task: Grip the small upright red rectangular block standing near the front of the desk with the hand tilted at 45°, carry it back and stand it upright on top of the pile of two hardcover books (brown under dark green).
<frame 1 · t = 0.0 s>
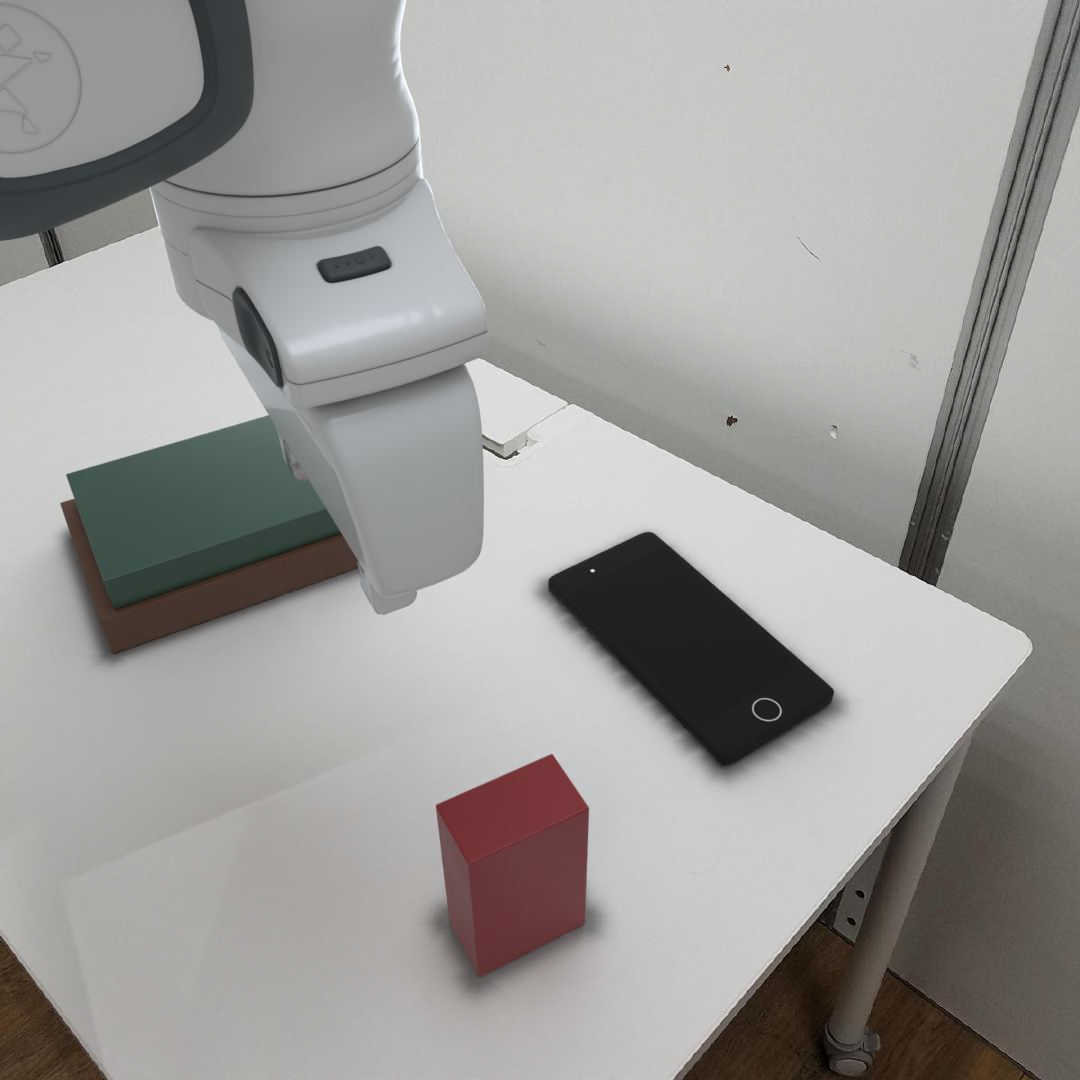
hand: (346, 529, 47), 21 cm above the table, tool pointing down, fingers open, 8 cm apart
upright red rectangular block: (517, 922, 56), on the table
book pile: (222, 548, 78), on the table
cell phone: (682, 644, 71), on the table
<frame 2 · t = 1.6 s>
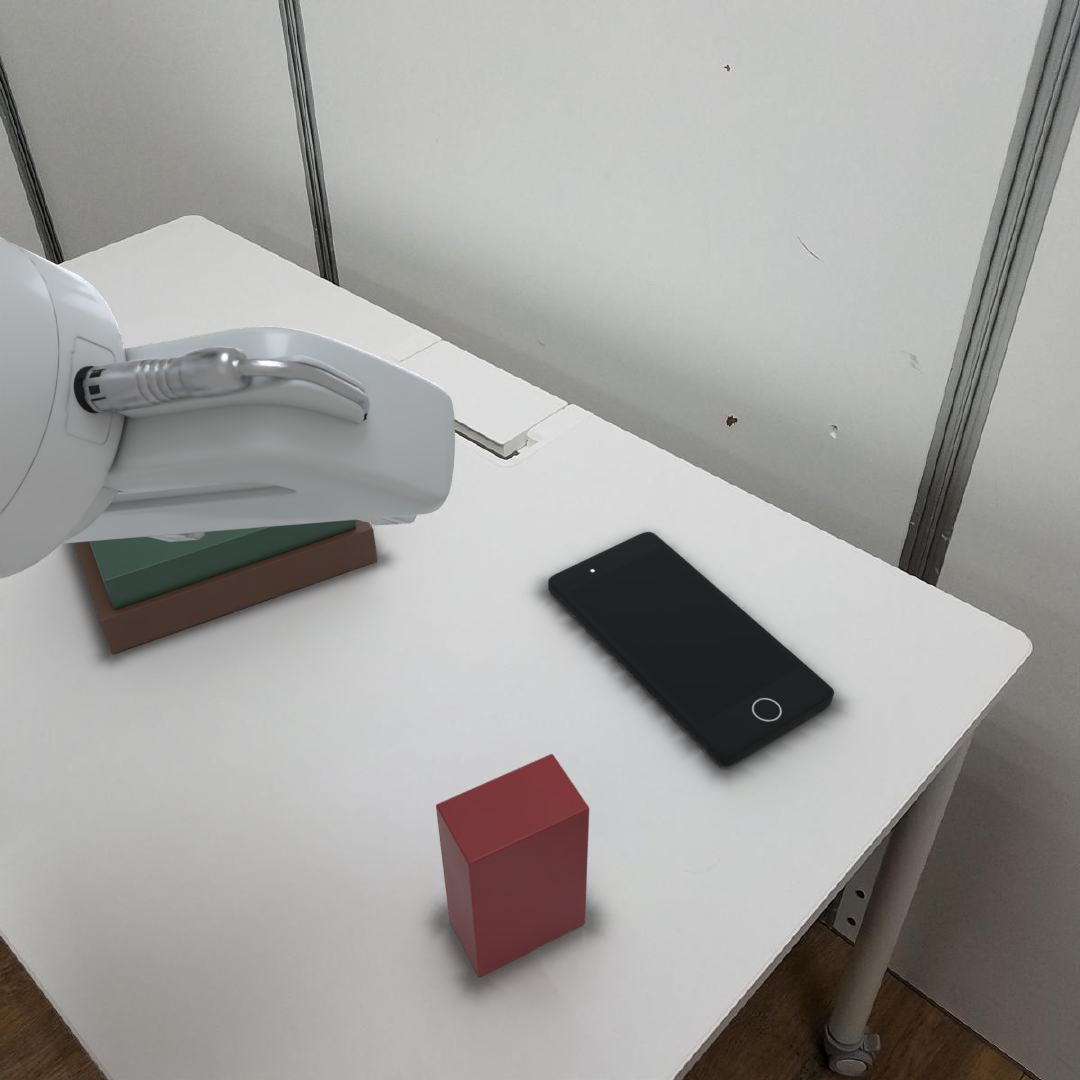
hand: (291, 511, 41), 26 cm above the table, tool tilted 45°, fingers open, 8 cm apart
nothing on the table moved.
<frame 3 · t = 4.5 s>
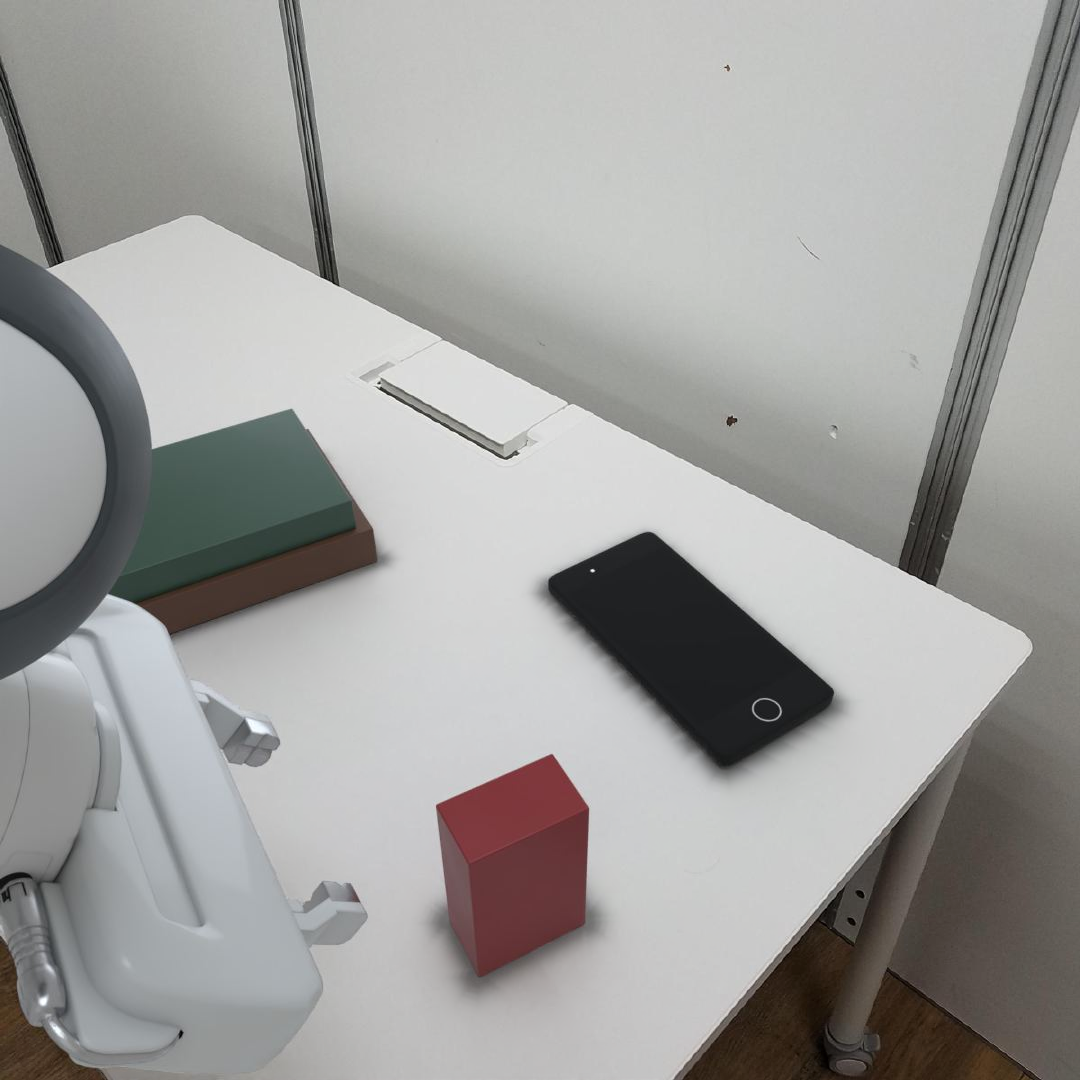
hand: (307, 822, 46), 13 cm above the table, tool tilted 45°, fingers open, 8 cm apart
nothing on the table moved.
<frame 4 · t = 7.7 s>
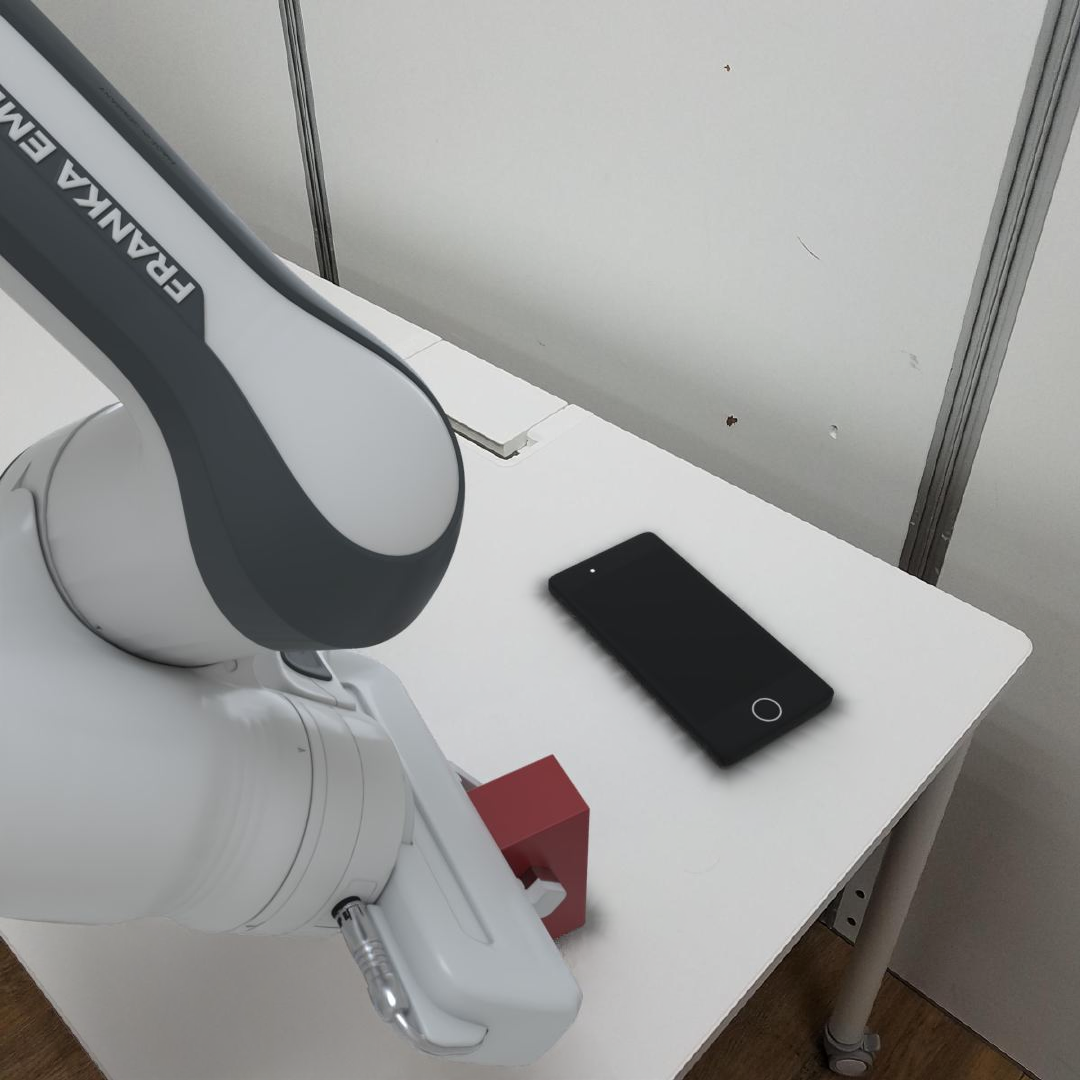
hand: (525, 852, 53), 6 cm above the table, tool tilted 45°, fingers closed on upright red rectangular block, 3 cm apart
upright red rectangular block: (517, 922, 56), on the table, touching gripper
everything else where it was.
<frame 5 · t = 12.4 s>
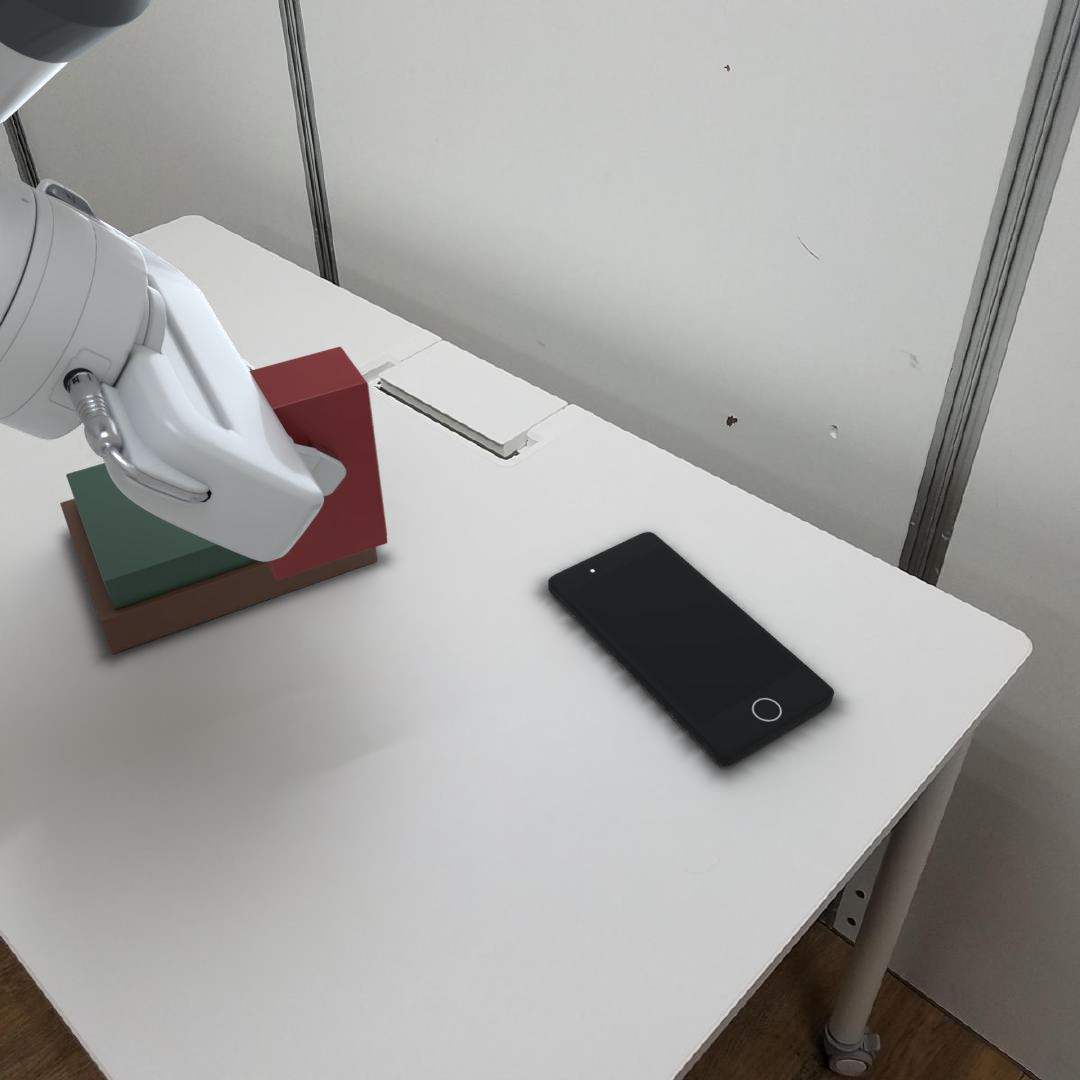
hand: (316, 448, 54), 19 cm above the table, tool tilted 45°, fingers closed on upright red rectangular block, 3 cm apart
upright red rectangular block: (321, 541, 58), point 14 cm above the table, touching gripper
everything else where it was.
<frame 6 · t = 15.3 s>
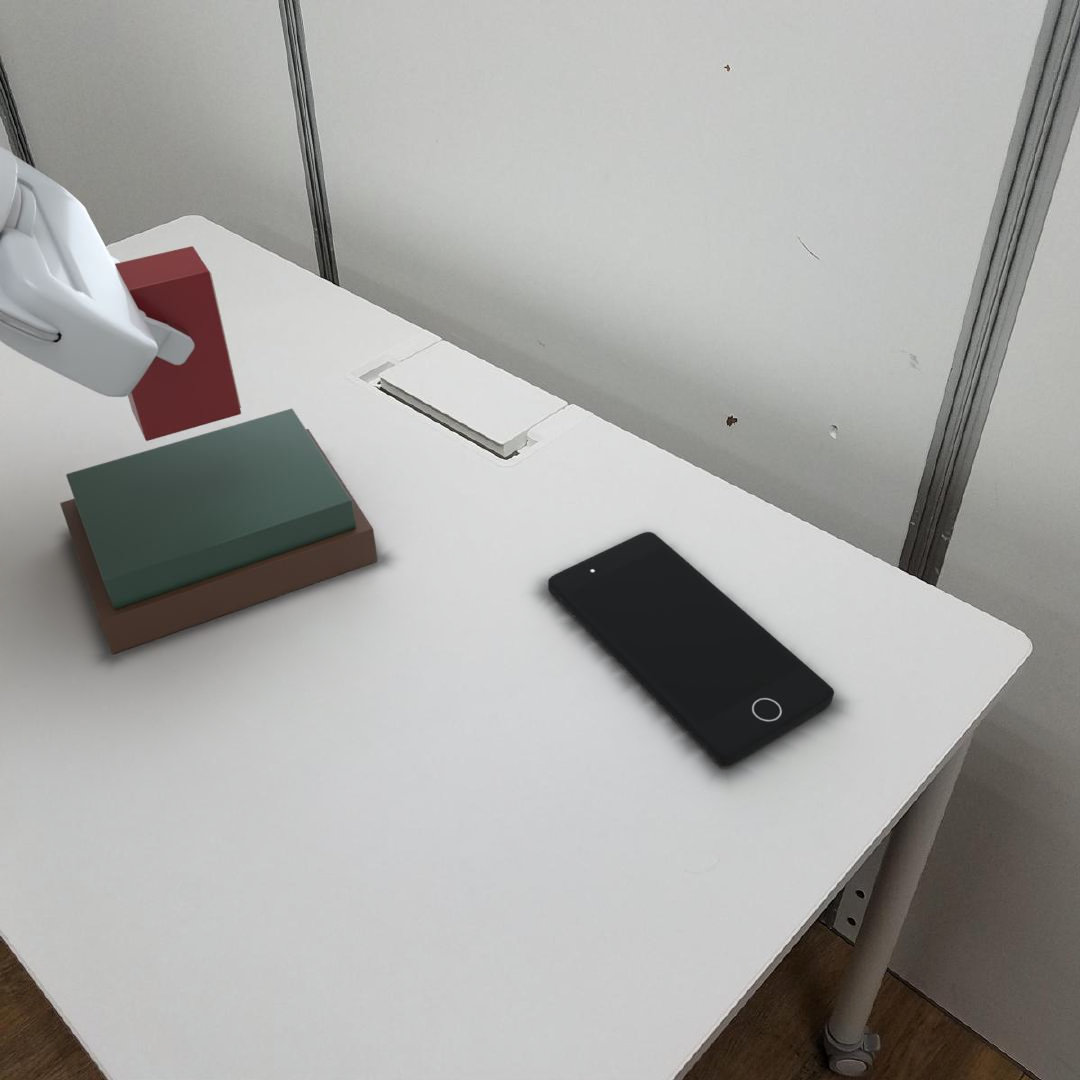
hand: (175, 330, 67), 17 cm above the table, tool tilted 45°, fingers closed on upright red rectangular block, 3 cm apart
upright red rectangular block: (187, 413, 70), point 11 cm above the table, touching gripper
everything else where it was.
when the fingers open (11 cm above the table, at t = 17.3 s): upright red rectangular block stays where it is, resting on book pile.
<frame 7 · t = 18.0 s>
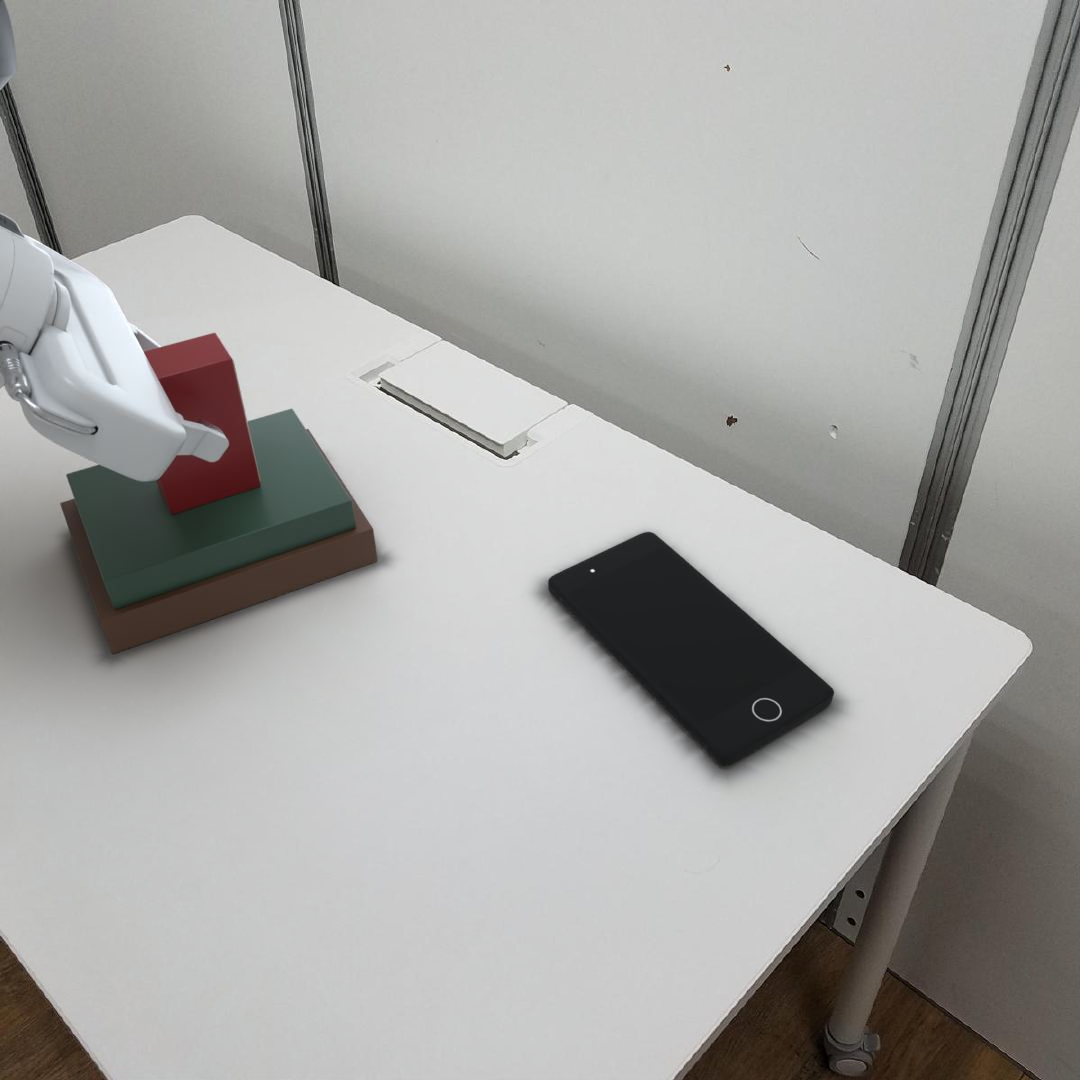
hand: (198, 408, 70), 12 cm above the table, tool tilted 45°, fingers open, 8 cm apart
upright red rectangular block: (209, 486, 74), point 5 cm above the table, touching book pile
everything else where it was.
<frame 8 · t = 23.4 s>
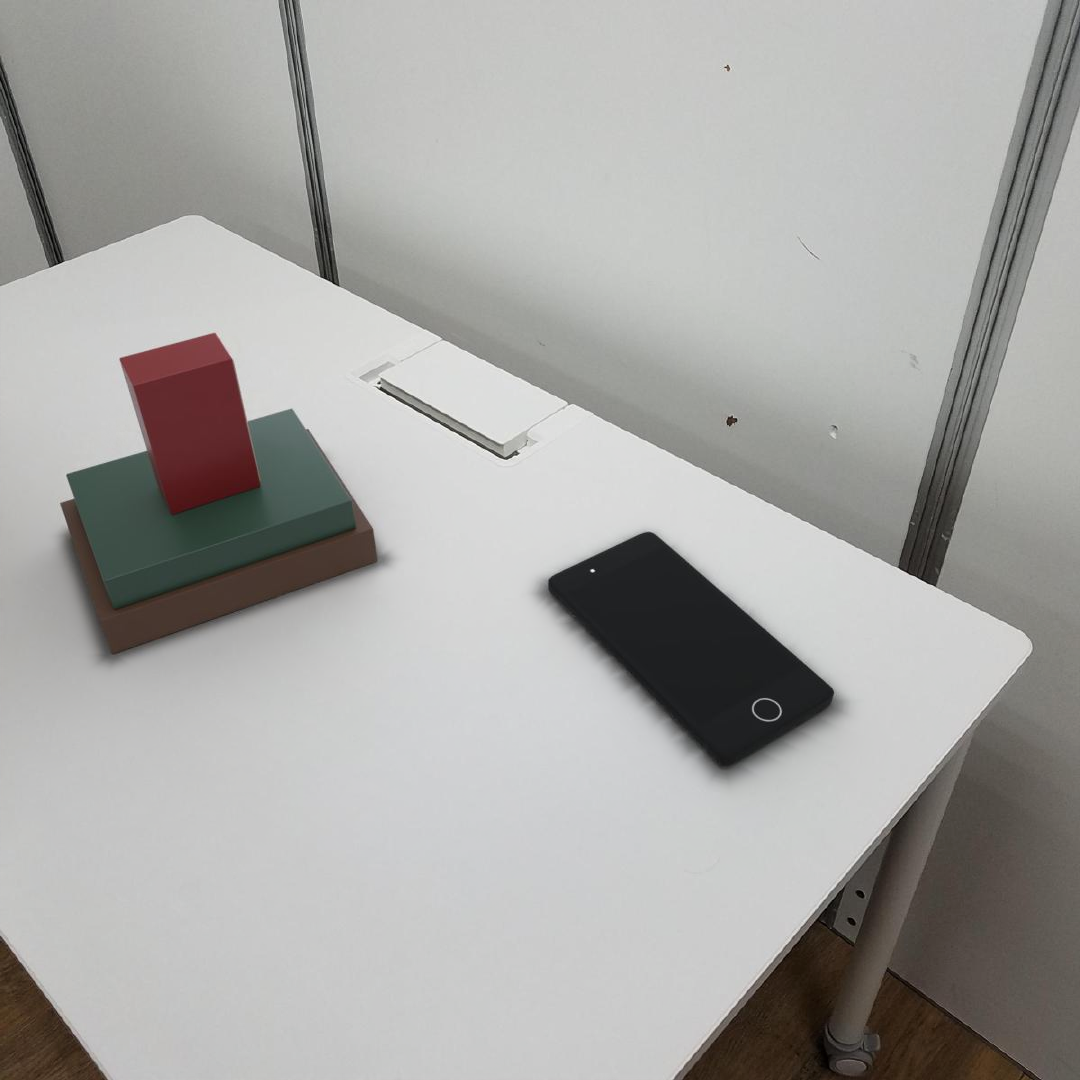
nothing on the table moved.
at the end: upright red rectangular block inside the target area on the book pile (0.2 cm from its centre), point 5.5 cm above the book pile's base; upright red rectangular block tilted 0°; the gripper is holding nothing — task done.
